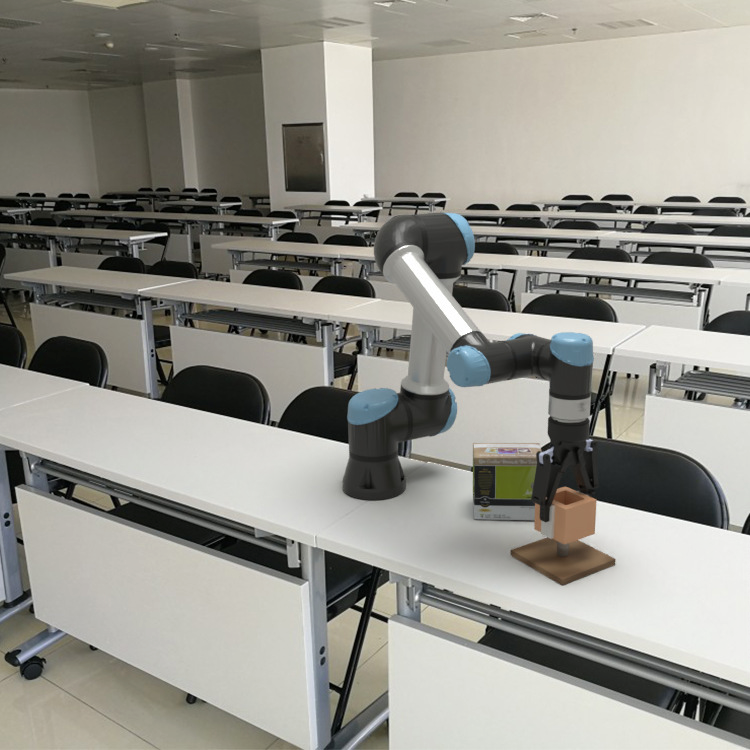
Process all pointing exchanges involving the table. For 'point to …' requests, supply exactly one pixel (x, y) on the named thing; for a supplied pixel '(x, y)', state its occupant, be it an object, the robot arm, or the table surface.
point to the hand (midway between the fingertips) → (564, 530)
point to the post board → (562, 559)
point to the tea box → (504, 480)
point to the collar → (570, 515)
